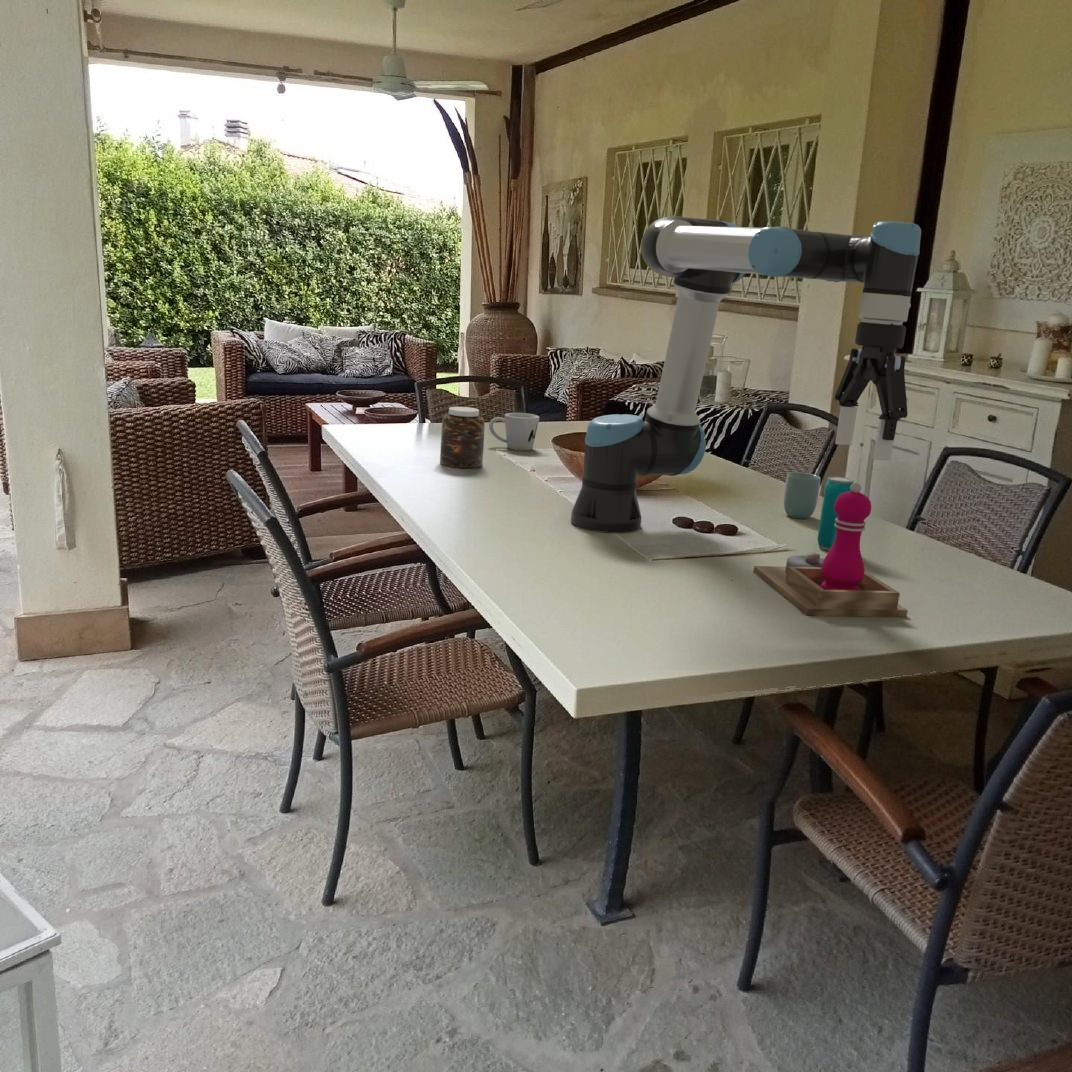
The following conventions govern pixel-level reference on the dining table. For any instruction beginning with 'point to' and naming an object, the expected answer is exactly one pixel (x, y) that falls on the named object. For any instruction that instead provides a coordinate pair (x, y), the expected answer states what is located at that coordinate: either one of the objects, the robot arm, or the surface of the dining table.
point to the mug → (518, 430)
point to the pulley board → (807, 595)
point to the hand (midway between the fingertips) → (861, 452)
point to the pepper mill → (847, 542)
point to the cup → (801, 494)
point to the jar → (462, 438)
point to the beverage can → (831, 510)
